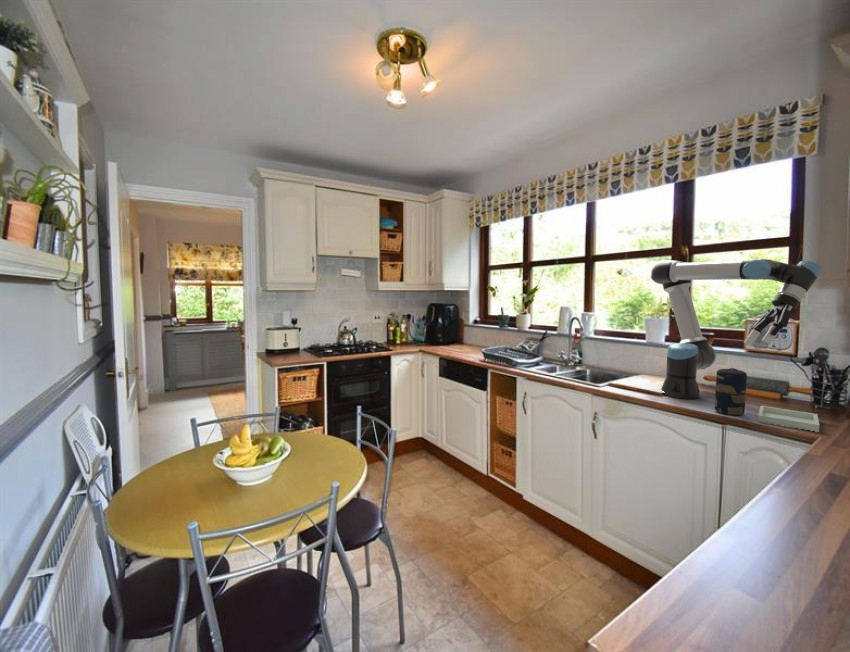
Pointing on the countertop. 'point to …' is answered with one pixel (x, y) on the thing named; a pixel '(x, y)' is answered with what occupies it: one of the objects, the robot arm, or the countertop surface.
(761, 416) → the tray
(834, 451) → the countertop surface
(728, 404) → the canister
